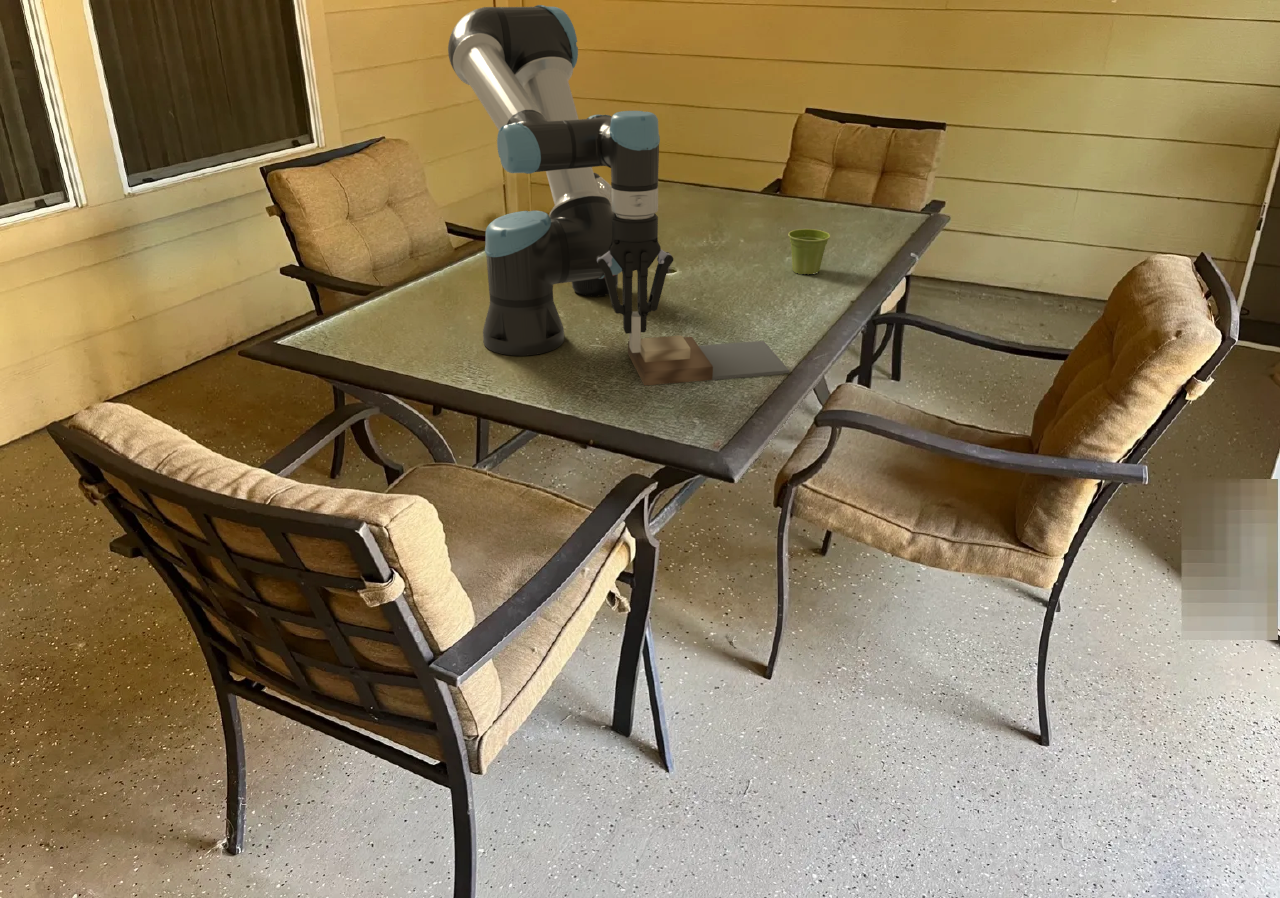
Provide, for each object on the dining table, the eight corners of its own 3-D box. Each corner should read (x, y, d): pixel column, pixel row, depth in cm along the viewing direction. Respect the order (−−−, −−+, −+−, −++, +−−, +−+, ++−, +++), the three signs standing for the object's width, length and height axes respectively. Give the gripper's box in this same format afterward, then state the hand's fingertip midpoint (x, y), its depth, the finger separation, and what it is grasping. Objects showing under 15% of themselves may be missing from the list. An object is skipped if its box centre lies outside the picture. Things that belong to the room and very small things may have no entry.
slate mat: (712, 379, 157) (712, 376, 157) (691, 349, 169) (691, 346, 169) (789, 373, 159) (789, 370, 159) (763, 343, 171) (763, 340, 171)
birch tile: (645, 362, 157) (645, 351, 156) (637, 349, 162) (638, 338, 161) (690, 358, 158) (690, 348, 158) (681, 345, 164) (681, 335, 163)
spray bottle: (628, 290, 198) (628, 172, 186) (594, 301, 191) (592, 180, 179) (595, 279, 204) (593, 165, 192) (561, 290, 197) (557, 172, 185)
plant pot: (808, 280, 204) (812, 242, 200) (776, 270, 211) (779, 233, 206) (834, 272, 210) (838, 235, 206) (802, 262, 216) (806, 226, 212)
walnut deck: (644, 385, 155) (644, 372, 153) (627, 353, 167) (628, 341, 165) (712, 379, 157) (712, 366, 156) (691, 349, 169) (691, 336, 168)
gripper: (598, 221, 143) (601, 360, 154) (679, 217, 145) (676, 355, 156) (591, 209, 149) (594, 344, 160) (669, 206, 151) (666, 339, 163)
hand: (634, 349), depth 158 cm, fingers closed
